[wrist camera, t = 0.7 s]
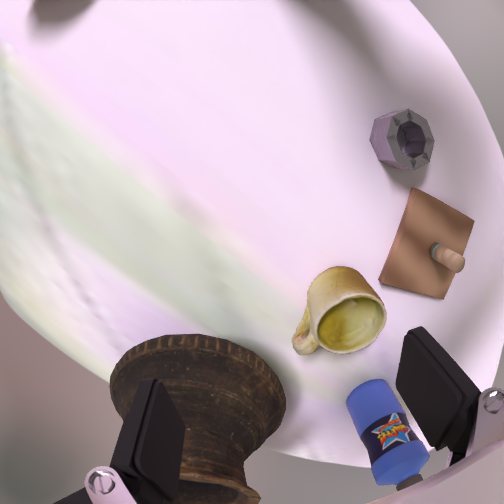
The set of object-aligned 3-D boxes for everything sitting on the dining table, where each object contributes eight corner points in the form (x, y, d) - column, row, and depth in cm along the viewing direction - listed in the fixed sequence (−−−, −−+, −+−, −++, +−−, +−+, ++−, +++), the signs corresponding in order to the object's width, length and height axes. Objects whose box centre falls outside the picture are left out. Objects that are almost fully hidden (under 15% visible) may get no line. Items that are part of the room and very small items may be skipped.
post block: (411, 187, 34) (445, 195, 27) (468, 218, 36) (499, 230, 29) (378, 279, 38) (403, 303, 31) (438, 295, 40) (464, 316, 33)
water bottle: (386, 401, 48) (434, 493, 24) (345, 416, 48) (382, 517, 24) (391, 372, 45) (451, 473, 21) (345, 388, 45) (392, 503, 21)
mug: (363, 241, 34) (389, 302, 26) (372, 291, 40) (391, 346, 32) (273, 270, 37) (278, 335, 29) (296, 314, 43) (303, 371, 35)
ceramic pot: (166, 423, 46) (149, 521, 24) (101, 324, 38) (33, 434, 17) (291, 401, 45) (315, 511, 24) (254, 286, 37) (276, 429, 16)
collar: (378, 106, 30) (395, 101, 26) (418, 128, 31) (437, 126, 27) (365, 154, 32) (381, 154, 28) (407, 173, 33) (425, 176, 29)
